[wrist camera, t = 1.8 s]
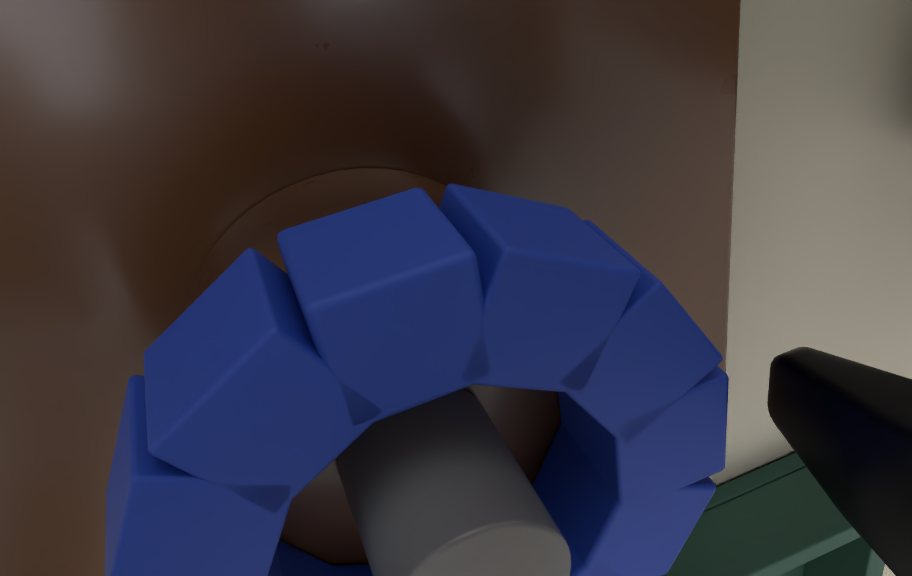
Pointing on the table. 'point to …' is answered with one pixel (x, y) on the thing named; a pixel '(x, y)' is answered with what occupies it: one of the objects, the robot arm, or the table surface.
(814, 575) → the tray
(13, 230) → the platform
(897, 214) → the table surface
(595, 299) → the ring
